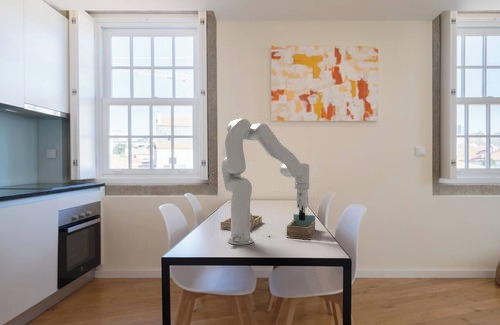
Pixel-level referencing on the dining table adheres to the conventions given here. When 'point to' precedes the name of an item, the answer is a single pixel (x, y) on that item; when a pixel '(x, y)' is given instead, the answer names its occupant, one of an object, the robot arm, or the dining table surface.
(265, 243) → the dining table surface
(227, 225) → the vegetable crate
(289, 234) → the box
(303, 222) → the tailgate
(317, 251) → the dining table surface
